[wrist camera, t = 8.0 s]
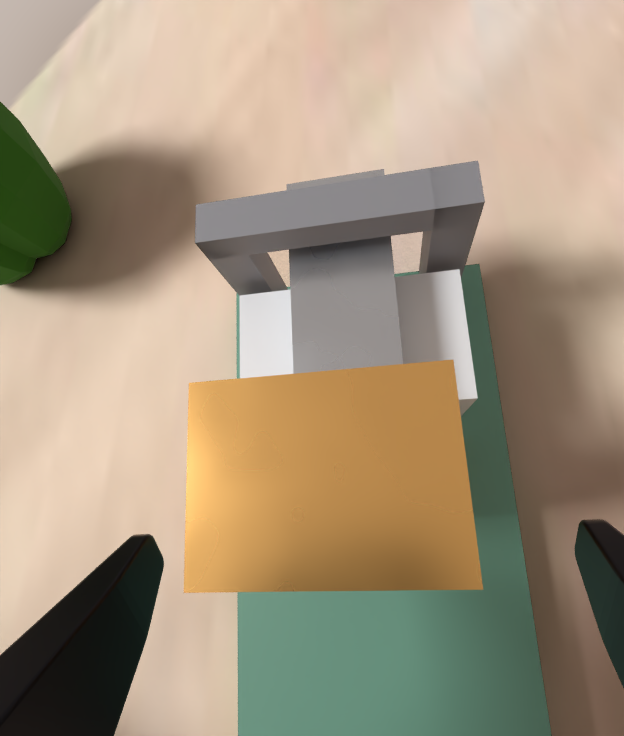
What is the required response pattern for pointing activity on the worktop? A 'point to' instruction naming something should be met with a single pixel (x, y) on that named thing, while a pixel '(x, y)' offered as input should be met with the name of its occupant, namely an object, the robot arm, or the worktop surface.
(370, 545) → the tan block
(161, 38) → the worktop surface
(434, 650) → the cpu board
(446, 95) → the worktop surface
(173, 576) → the worktop surface
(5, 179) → the bell pepper
